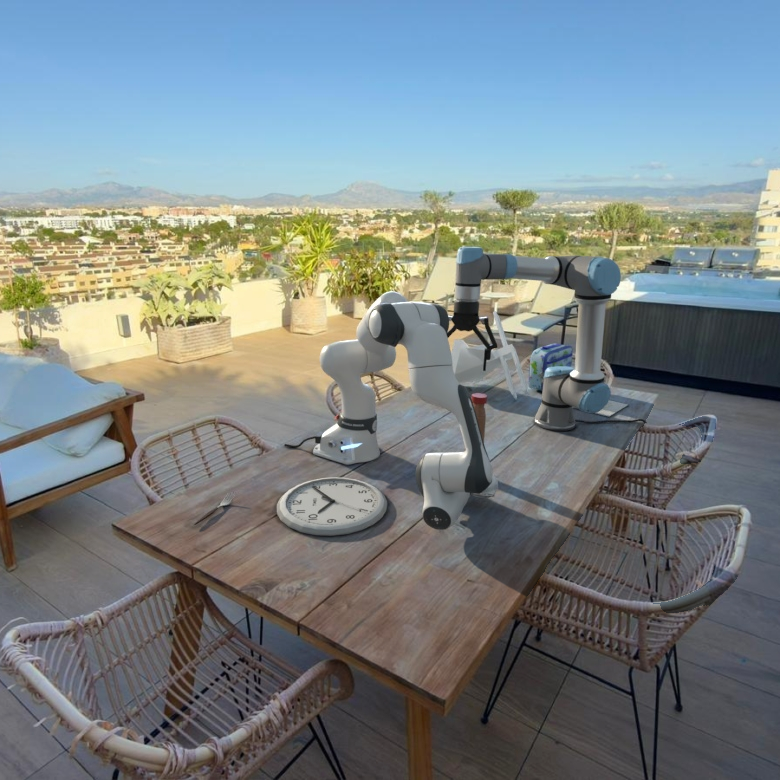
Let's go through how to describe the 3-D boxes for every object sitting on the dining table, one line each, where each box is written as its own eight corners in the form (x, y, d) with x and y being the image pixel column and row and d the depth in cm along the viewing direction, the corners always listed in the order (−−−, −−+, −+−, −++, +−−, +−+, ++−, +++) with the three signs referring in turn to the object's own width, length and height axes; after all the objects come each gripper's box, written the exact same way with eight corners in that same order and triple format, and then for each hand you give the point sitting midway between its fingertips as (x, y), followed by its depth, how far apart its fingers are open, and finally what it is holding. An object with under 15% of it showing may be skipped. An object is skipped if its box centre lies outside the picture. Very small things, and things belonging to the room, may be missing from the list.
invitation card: (608, 416, 214) (573, 407, 224) (608, 416, 214) (573, 408, 224) (628, 404, 229) (594, 396, 238) (628, 405, 229) (594, 397, 238)
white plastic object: (461, 429, 252) (437, 405, 227) (444, 352, 274) (420, 323, 250) (535, 404, 240) (518, 377, 215) (510, 326, 262) (492, 293, 237)
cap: (476, 398, 158) (477, 392, 157) (489, 402, 155) (490, 395, 154) (468, 402, 154) (468, 395, 154) (481, 405, 151) (481, 398, 151)
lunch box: (544, 395, 239) (549, 351, 233) (524, 390, 247) (528, 347, 240) (571, 384, 257) (577, 343, 251) (552, 380, 264) (556, 339, 258)
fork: (190, 525, 132) (189, 518, 131) (229, 496, 146) (228, 490, 145) (198, 527, 131) (198, 520, 130) (237, 498, 145) (236, 491, 145)
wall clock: (392, 527, 129) (268, 531, 127) (391, 533, 130) (269, 537, 127) (383, 473, 158) (282, 475, 155) (383, 478, 158) (282, 480, 156)
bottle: (471, 470, 165) (477, 393, 157) (484, 475, 162) (490, 396, 154) (463, 475, 161) (468, 396, 154) (475, 480, 158) (481, 400, 151)
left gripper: (494, 487, 134) (503, 465, 146) (418, 472, 141) (433, 452, 153) (492, 508, 136) (501, 485, 148) (417, 493, 143) (432, 472, 155)
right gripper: (508, 300, 159) (502, 368, 165) (426, 296, 162) (423, 362, 169) (509, 303, 152) (503, 374, 158) (424, 299, 155) (421, 368, 162)
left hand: (466, 468), depth 151 cm, fingers open, 8 cm apart
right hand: (462, 368), depth 163 cm, fingers open, 13 cm apart
